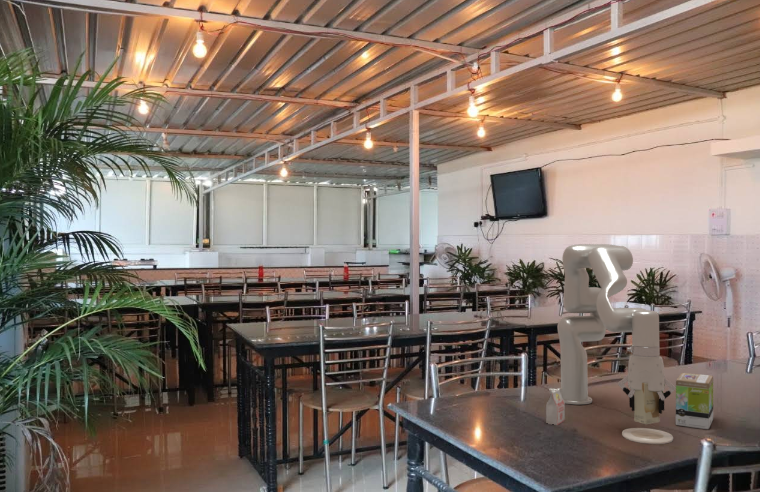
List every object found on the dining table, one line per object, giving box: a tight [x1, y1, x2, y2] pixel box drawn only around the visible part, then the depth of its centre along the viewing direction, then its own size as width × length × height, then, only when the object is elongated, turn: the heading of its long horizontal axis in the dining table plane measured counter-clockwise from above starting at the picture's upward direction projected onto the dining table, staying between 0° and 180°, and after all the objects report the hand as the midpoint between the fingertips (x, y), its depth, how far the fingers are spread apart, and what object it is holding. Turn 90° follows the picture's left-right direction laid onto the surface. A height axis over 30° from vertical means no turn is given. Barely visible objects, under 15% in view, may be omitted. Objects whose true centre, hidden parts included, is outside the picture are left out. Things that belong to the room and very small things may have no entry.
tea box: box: [675, 372, 714, 430], centre depth 203 cm, size 15×10×15 cm, turn 148°
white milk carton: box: [545, 390, 566, 426], centre depth 205 cm, size 4×7×10 cm, turn 143°
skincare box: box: [633, 383, 660, 425], centre depth 187 cm, size 6×4×12 cm
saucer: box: [621, 427, 674, 445], centre depth 187 cm, size 14×14×1 cm
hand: (646, 410), depth 187 cm, fingers closed on skincare box, 6 cm apart
